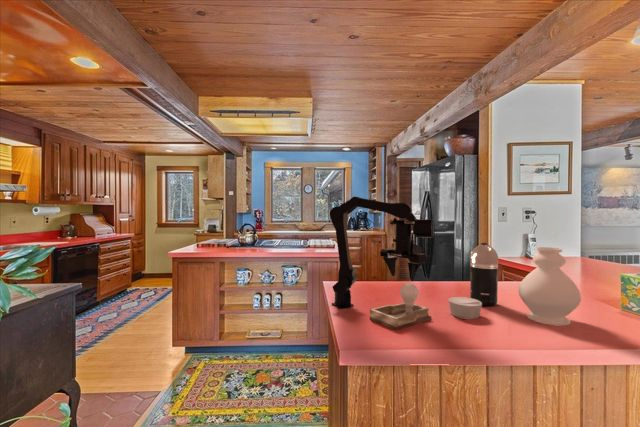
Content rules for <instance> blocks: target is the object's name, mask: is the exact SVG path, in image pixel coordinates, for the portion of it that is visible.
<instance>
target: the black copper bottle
mask: <svg viewBox="0 0 640 427" xmlns="http://www.w3.org/2000/svg"><path fill="white" fill-rule="evenodd" d="M469 263H470V264H469V265H470V292H469V293H470V294H469V295H470V297H469V298H472V299H476V300H478V301H480V302H481V303H482V307H494V306H496V305H497V304H498V293H499V292H498V291H499V290H498V284H499V283H498V281H499V280H498V275H499V273H498V272H499V271H498V269H499V255H498V252H497V251H496V250H495V249H494V248H493V247H492V246H491V245H489V243H487V242H481V243H480V244H479V245H477V246H475V247H474V248H473V250H472V251H471V252H470V262H469Z"/></svg>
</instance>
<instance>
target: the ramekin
mask: <svg viewBox="0 0 640 427" xmlns="http://www.w3.org/2000/svg"><path fill="white" fill-rule="evenodd" d="M448 303H449V310H450V313H451V314H452V316H453V317H456V318H459V319H464V320H475V319H478V318H479V317H480V315H481V311H482V307H483V306H482V303H481V302H480V301H478V300H476V299H472V298H470V297H465V296H454V297H449V298H448Z"/></svg>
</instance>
